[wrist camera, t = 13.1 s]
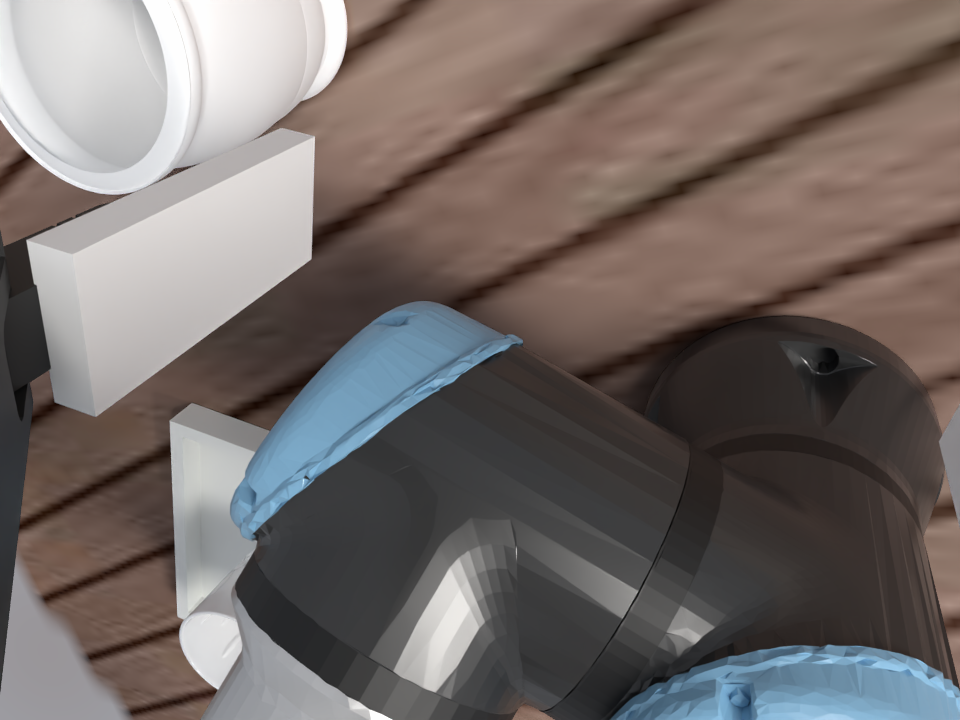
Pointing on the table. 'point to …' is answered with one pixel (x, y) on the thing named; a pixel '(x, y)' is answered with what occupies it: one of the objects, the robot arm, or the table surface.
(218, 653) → the white cup
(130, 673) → the table surface
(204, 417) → the grey tray
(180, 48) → the jar
